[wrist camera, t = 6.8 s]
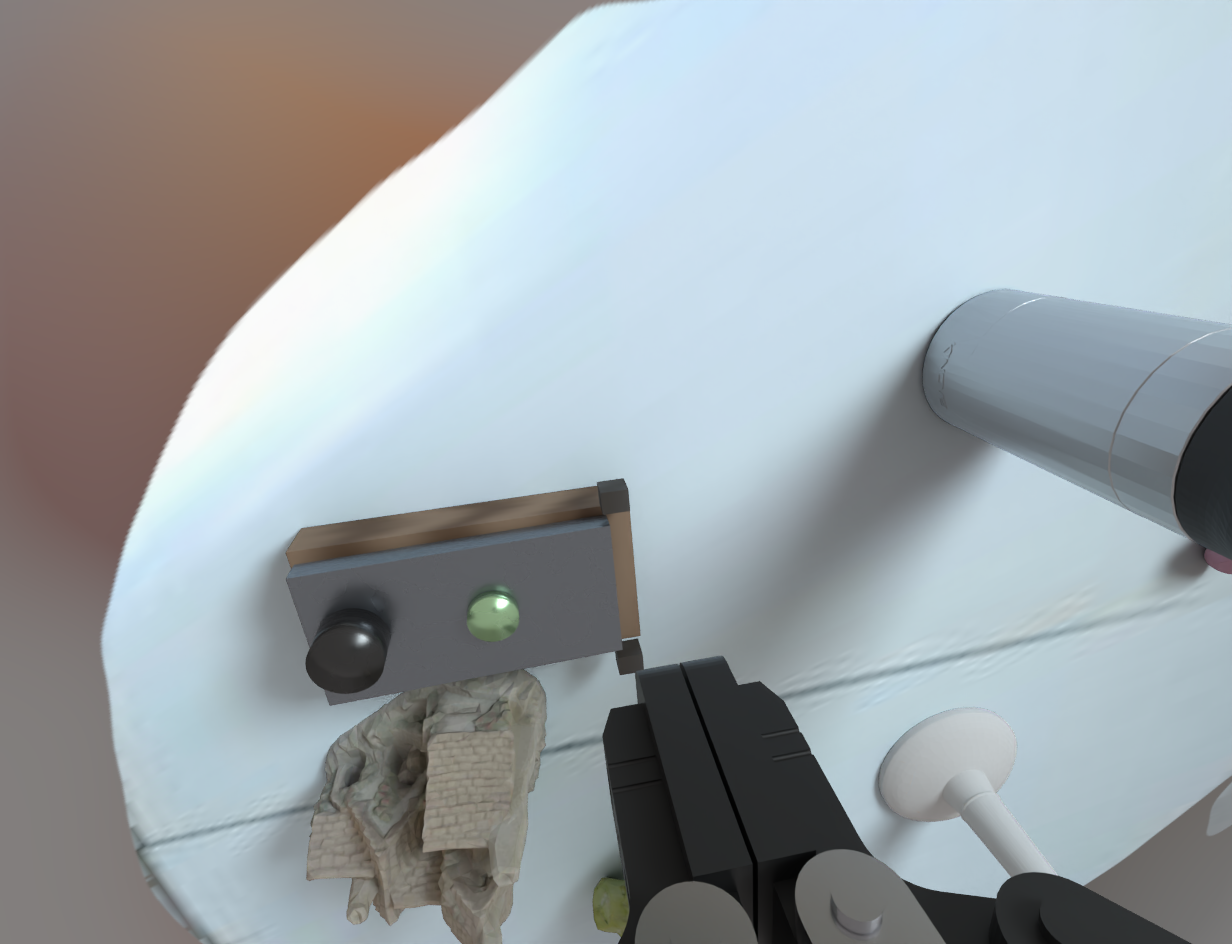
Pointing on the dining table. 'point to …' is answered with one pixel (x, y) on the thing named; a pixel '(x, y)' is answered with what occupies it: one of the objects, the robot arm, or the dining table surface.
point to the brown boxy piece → (491, 519)
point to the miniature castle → (434, 802)
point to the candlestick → (961, 781)
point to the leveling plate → (458, 608)
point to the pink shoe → (1218, 561)
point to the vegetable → (611, 905)
